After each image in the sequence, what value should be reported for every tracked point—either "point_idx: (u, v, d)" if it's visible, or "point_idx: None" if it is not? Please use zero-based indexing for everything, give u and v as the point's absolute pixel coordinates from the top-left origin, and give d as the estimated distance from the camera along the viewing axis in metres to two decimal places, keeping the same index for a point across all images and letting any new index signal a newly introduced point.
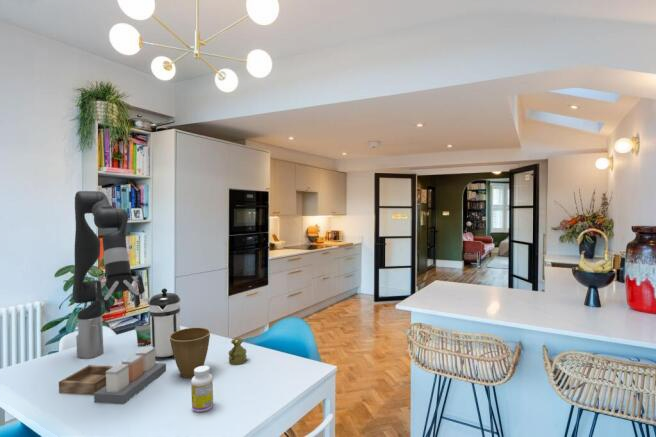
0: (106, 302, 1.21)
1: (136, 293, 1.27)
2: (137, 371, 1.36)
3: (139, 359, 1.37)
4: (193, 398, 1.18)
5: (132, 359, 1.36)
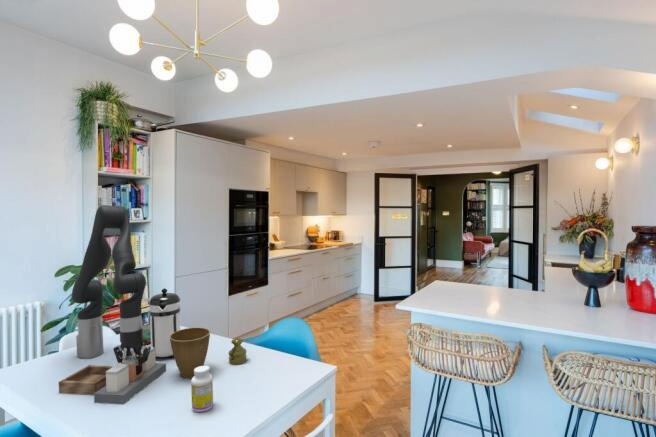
0: None
1: (136, 363, 1.35)
2: None
3: None
4: (193, 398, 1.18)
5: (132, 359, 1.36)
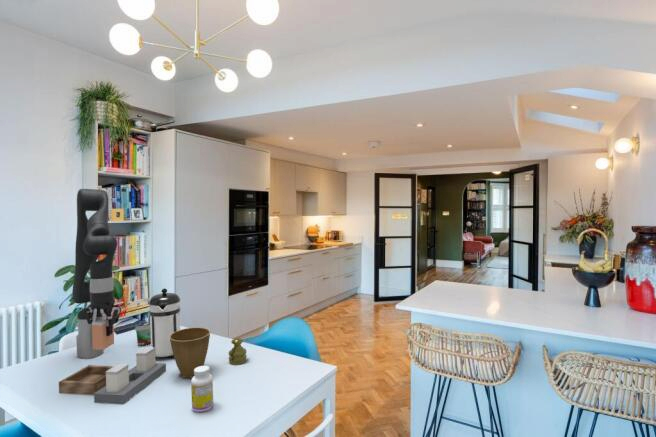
0: None
1: (106, 324, 1.36)
2: None
3: None
4: (193, 398, 1.18)
5: (102, 320, 1.36)
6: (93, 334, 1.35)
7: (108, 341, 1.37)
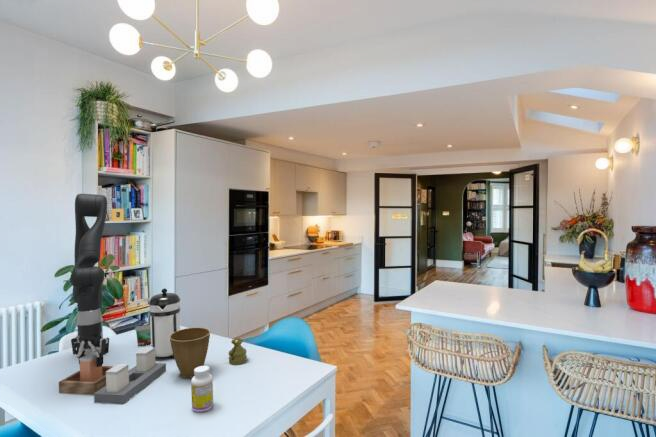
0: (79, 357, 1.37)
1: (97, 355, 1.36)
2: (95, 368, 1.37)
3: None
4: (193, 398, 1.18)
5: (90, 356, 1.37)
6: (81, 370, 1.35)
7: (96, 377, 1.37)
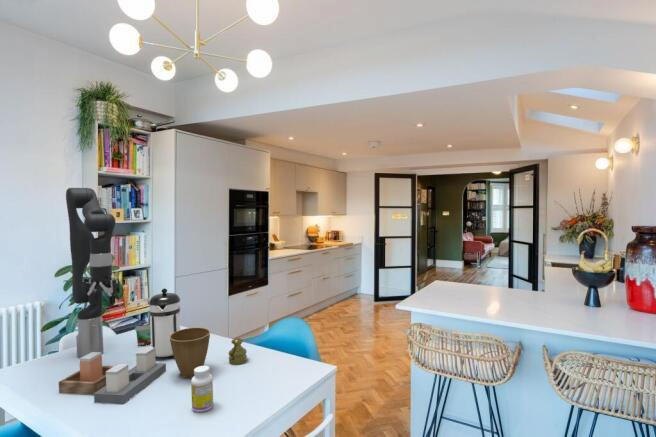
0: None
1: (109, 294, 1.46)
2: (95, 368, 1.37)
3: (98, 356, 1.38)
4: (193, 398, 1.18)
5: (90, 356, 1.37)
6: (81, 370, 1.35)
7: (96, 377, 1.37)
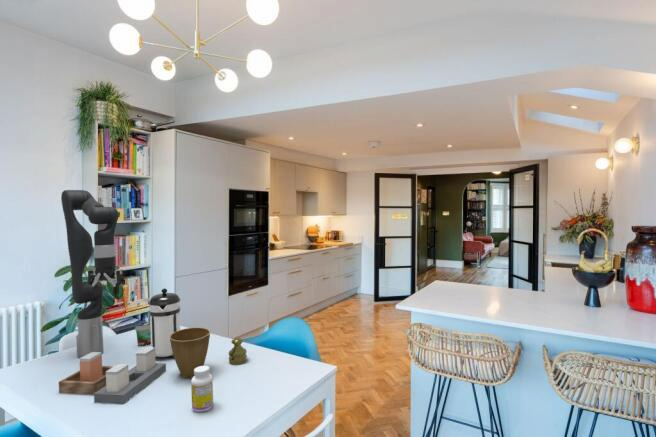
0: (94, 287, 1.51)
1: (113, 285, 1.49)
2: (95, 368, 1.37)
3: (98, 356, 1.38)
4: (193, 398, 1.18)
5: (90, 356, 1.37)
6: (81, 370, 1.35)
7: (96, 377, 1.37)
